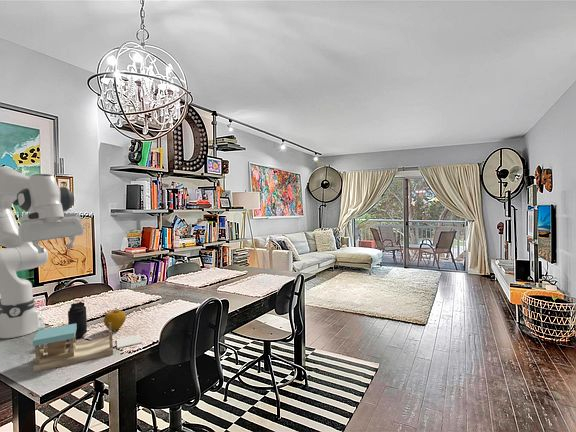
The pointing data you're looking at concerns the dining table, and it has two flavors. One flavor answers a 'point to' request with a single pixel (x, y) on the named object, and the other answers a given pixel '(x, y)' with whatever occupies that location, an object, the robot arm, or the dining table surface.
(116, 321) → the apple
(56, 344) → the walnut block
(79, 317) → the black bottle
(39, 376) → the dining table surface
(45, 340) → the sliding lid
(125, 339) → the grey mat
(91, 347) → the beige notched bar
